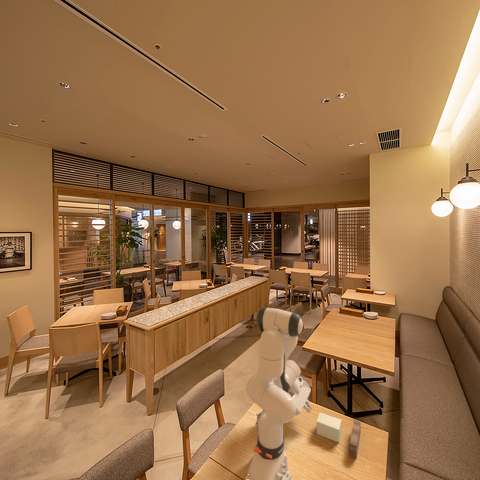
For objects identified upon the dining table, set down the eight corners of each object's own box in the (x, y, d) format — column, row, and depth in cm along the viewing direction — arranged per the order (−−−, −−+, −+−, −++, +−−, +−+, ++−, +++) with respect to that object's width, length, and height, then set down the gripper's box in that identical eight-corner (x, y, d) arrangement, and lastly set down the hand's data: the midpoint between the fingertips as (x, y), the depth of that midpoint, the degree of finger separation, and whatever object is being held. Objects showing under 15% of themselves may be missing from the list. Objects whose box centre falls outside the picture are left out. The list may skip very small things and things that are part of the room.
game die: (262, 430, 136) (262, 408, 142) (274, 432, 131) (274, 409, 137) (251, 430, 131) (252, 407, 137) (264, 432, 126) (264, 409, 131)
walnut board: (356, 458, 115) (356, 446, 114) (349, 455, 116) (349, 443, 116) (360, 432, 128) (360, 422, 128) (354, 430, 130) (354, 419, 129)
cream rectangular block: (339, 443, 123) (339, 429, 123) (316, 433, 129) (316, 421, 128) (341, 432, 129) (341, 419, 128) (319, 424, 135) (319, 412, 134)
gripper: (289, 397, 128) (308, 422, 124) (302, 374, 145) (319, 395, 141) (281, 402, 131) (300, 426, 127) (295, 379, 148) (311, 400, 144)
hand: (310, 410), depth 134 cm, fingers closed
